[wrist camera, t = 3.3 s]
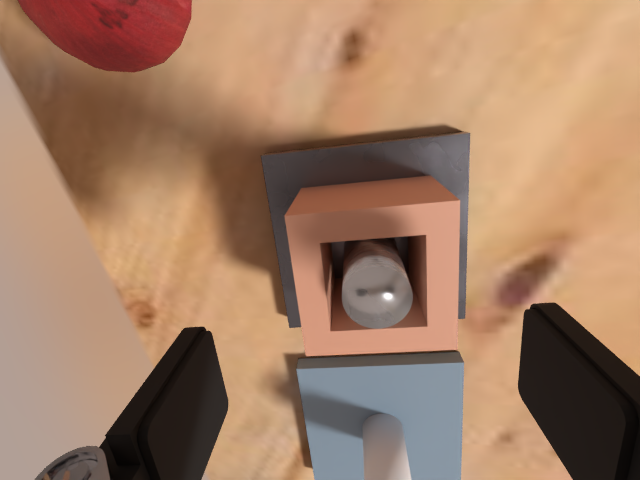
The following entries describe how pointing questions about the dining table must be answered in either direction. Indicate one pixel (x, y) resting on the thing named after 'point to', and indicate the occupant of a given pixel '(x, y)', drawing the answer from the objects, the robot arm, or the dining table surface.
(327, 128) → the dining table surface
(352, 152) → the stand
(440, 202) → the collar
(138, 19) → the onion
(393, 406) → the blue peg base
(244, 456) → the dining table surface
